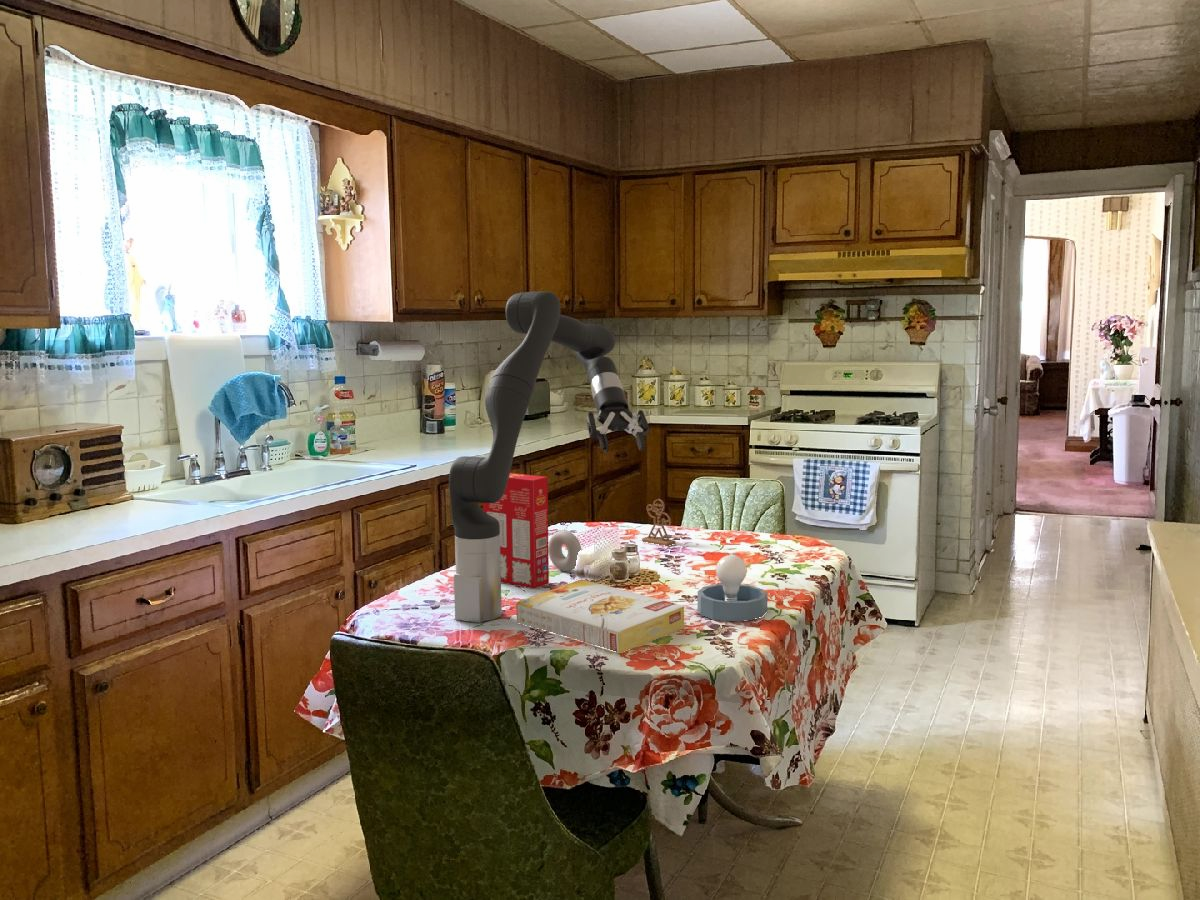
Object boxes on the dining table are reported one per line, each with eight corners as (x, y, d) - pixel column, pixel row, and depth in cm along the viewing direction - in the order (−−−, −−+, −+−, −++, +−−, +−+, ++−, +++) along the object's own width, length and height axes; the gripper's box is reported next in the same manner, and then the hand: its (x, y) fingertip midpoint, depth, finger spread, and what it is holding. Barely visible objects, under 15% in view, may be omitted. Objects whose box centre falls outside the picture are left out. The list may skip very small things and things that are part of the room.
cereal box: (581, 577, 218) (686, 601, 200) (582, 602, 219) (686, 628, 201) (514, 600, 203) (621, 629, 185) (515, 627, 204) (621, 658, 186)
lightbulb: (722, 612, 207) (723, 560, 206) (711, 603, 213) (711, 552, 212) (751, 609, 209) (751, 557, 207) (738, 601, 215) (739, 550, 213)
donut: (584, 572, 242) (584, 532, 241) (575, 575, 240) (574, 534, 238) (555, 565, 249) (554, 526, 247) (545, 568, 246) (544, 528, 245)
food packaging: (548, 583, 233) (547, 477, 230) (535, 588, 229) (533, 480, 225) (499, 574, 241) (497, 471, 238) (485, 579, 237) (482, 474, 233)
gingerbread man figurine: (676, 544, 271) (676, 500, 269) (667, 546, 268) (667, 502, 266) (650, 539, 277) (650, 496, 275) (641, 541, 274) (641, 498, 272)
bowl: (755, 625, 202) (755, 606, 201) (689, 616, 208) (689, 597, 207) (773, 606, 214) (774, 588, 214) (711, 598, 220) (711, 580, 220)
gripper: (583, 386, 237) (598, 440, 228) (640, 384, 242) (657, 437, 232) (577, 406, 243) (592, 460, 234) (633, 404, 247) (649, 457, 238)
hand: (624, 449), depth 233 cm, fingers open, 8 cm apart
